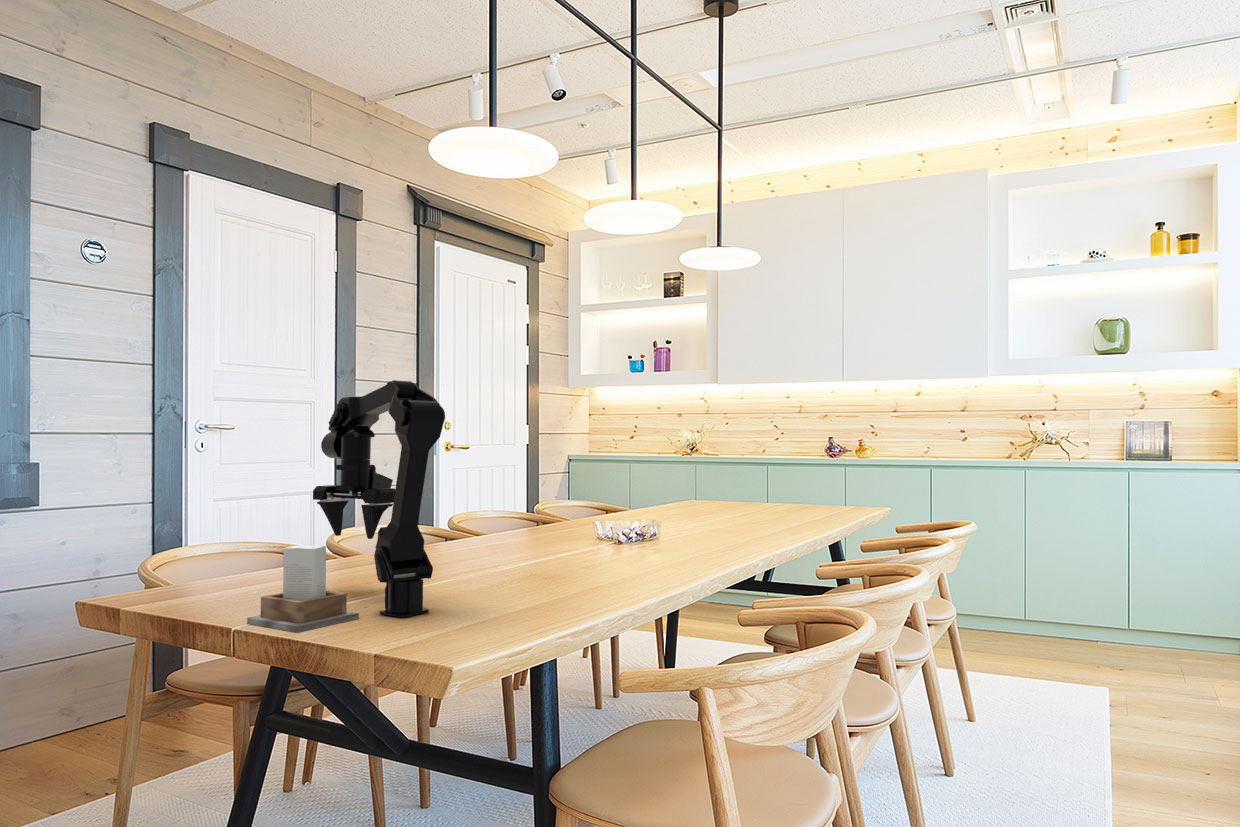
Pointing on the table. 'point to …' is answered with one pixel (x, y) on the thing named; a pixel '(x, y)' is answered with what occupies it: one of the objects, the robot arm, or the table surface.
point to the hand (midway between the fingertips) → (353, 537)
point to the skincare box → (304, 572)
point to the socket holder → (303, 612)
